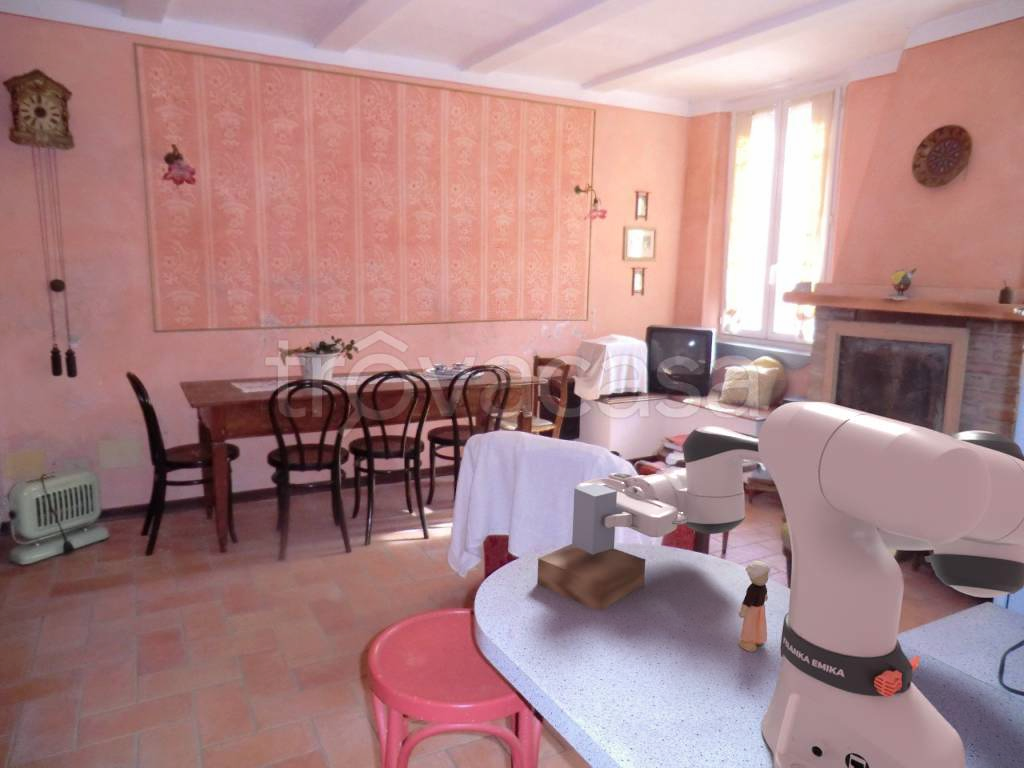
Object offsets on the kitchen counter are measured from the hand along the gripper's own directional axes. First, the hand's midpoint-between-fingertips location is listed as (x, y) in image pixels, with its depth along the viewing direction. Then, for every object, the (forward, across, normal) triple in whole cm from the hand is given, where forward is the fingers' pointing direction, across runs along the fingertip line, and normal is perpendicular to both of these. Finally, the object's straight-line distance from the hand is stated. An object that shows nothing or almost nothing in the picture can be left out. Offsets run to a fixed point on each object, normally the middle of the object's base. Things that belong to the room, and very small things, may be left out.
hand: (590, 516), depth 115 cm
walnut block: (-1, 0, -13) cm, 13 cm away
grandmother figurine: (-8, -27, -13) cm, 31 cm away
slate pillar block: (-1, 0, -6) cm, 6 cm away
